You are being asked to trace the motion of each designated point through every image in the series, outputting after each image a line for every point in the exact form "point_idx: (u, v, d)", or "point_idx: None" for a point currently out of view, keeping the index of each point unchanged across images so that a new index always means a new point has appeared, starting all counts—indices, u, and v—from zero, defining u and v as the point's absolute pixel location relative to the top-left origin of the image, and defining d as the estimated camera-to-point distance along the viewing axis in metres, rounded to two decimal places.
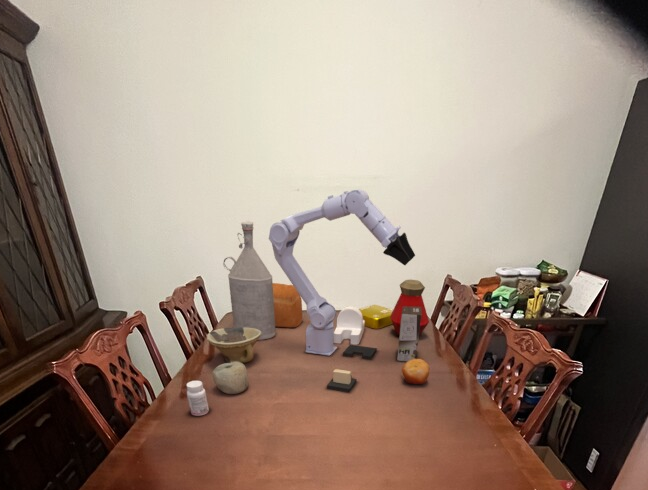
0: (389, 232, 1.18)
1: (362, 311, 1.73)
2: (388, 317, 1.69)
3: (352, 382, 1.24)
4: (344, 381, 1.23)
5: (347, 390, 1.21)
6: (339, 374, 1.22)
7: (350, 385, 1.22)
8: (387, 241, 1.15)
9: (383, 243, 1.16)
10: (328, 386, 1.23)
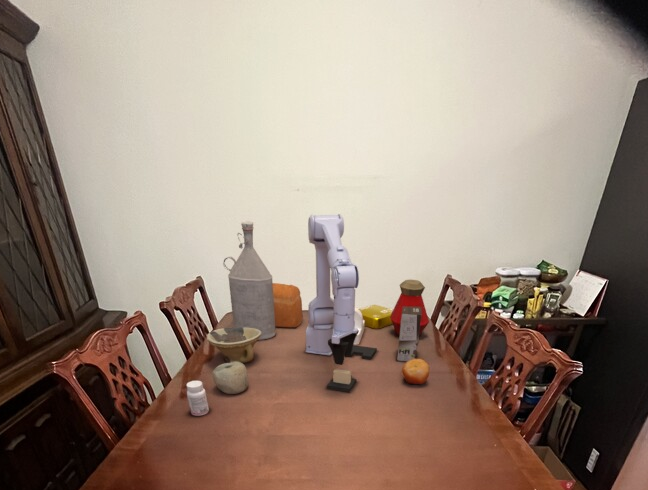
0: (346, 329, 1.13)
1: (362, 311, 1.73)
2: (388, 317, 1.69)
3: (352, 382, 1.24)
4: (344, 381, 1.23)
5: (347, 390, 1.21)
6: (339, 374, 1.22)
7: (350, 385, 1.22)
8: (337, 341, 1.10)
9: (333, 338, 1.10)
10: (328, 386, 1.23)
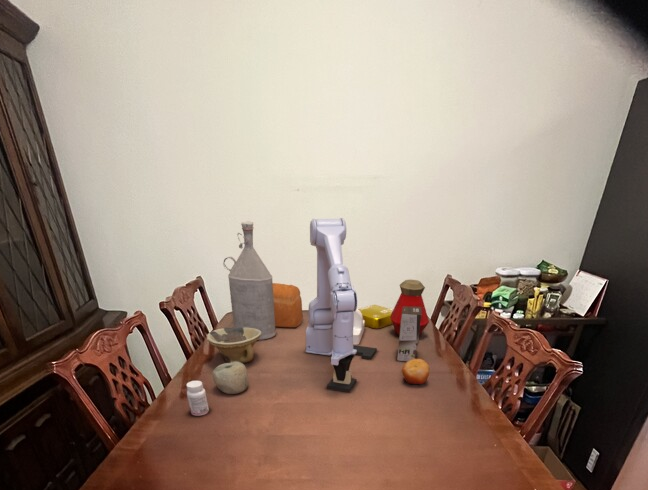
0: (344, 351, 1.16)
1: (362, 311, 1.73)
2: (388, 317, 1.69)
3: (352, 382, 1.24)
4: (344, 381, 1.23)
5: (347, 390, 1.21)
6: None
7: (350, 385, 1.22)
8: (336, 362, 1.13)
9: (332, 360, 1.13)
10: (328, 386, 1.23)
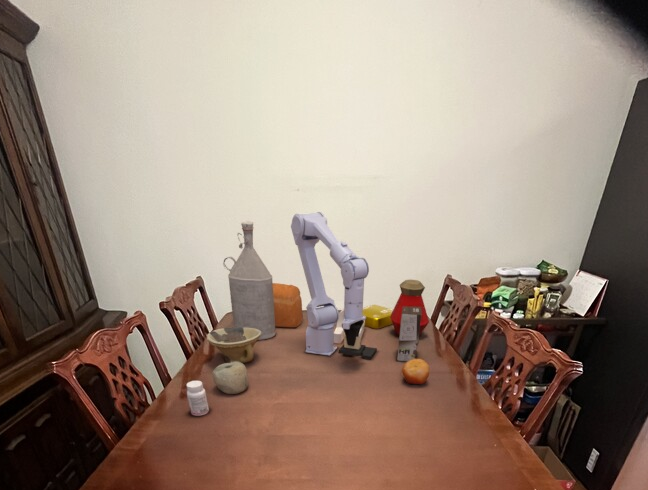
0: (355, 316, 1.26)
1: None
2: (388, 317, 1.69)
3: (361, 347, 1.34)
4: (354, 346, 1.33)
5: (357, 354, 1.31)
6: None
7: (360, 350, 1.32)
8: (347, 326, 1.23)
9: (344, 324, 1.23)
10: (339, 351, 1.33)
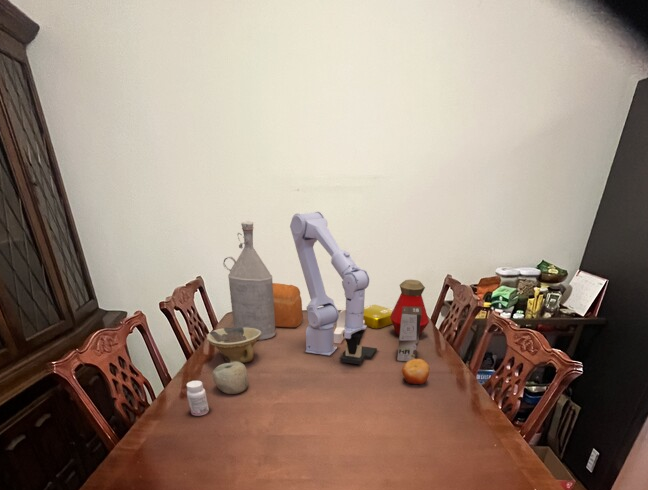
0: (356, 326, 1.30)
1: None
2: (388, 317, 1.69)
3: (362, 356, 1.38)
4: (355, 354, 1.37)
5: (358, 362, 1.35)
6: None
7: (361, 358, 1.36)
8: (349, 336, 1.27)
9: (345, 334, 1.27)
10: (341, 359, 1.36)
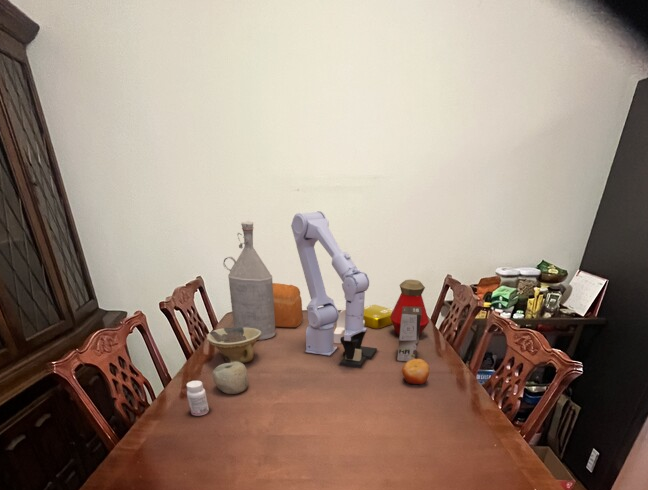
0: (356, 328, 1.30)
1: None
2: (388, 317, 1.69)
3: (362, 359, 1.38)
4: (355, 358, 1.37)
5: (358, 366, 1.35)
6: None
7: (361, 362, 1.37)
8: (349, 338, 1.27)
9: (345, 336, 1.28)
10: (341, 363, 1.37)
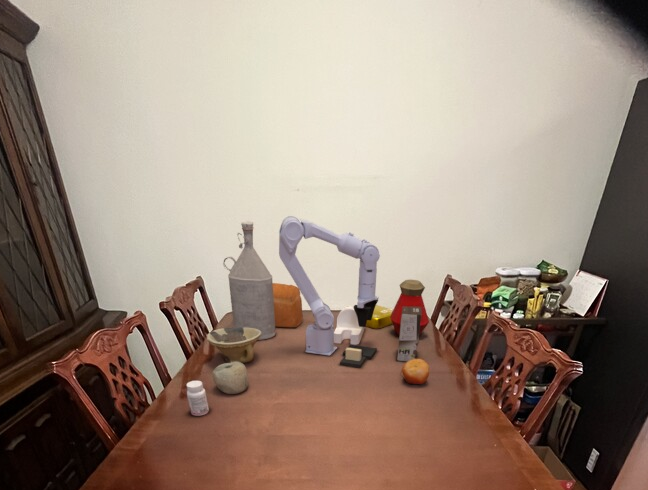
0: (368, 297, 1.37)
1: None
2: (388, 317, 1.69)
3: (362, 359, 1.38)
4: (355, 358, 1.37)
5: (358, 366, 1.35)
6: (351, 351, 1.37)
7: (361, 362, 1.37)
8: (362, 305, 1.34)
9: (358, 303, 1.35)
10: (341, 363, 1.37)
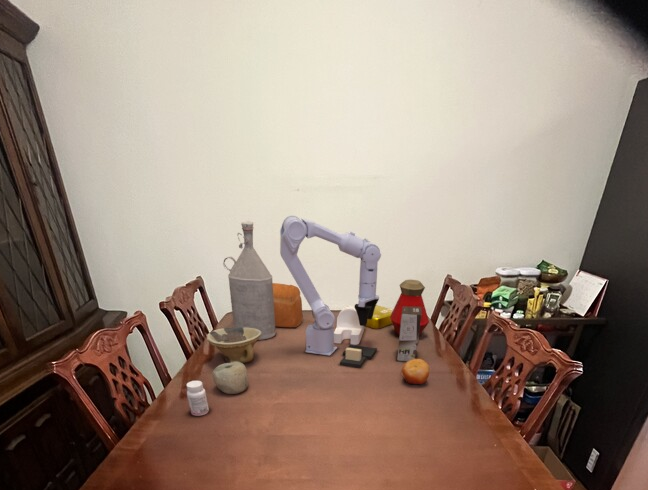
0: (369, 296, 1.38)
1: None
2: (388, 317, 1.69)
3: (362, 359, 1.38)
4: (355, 358, 1.37)
5: (358, 366, 1.35)
6: (351, 351, 1.37)
7: (361, 362, 1.37)
8: (363, 304, 1.35)
9: (359, 302, 1.35)
10: (341, 363, 1.37)
